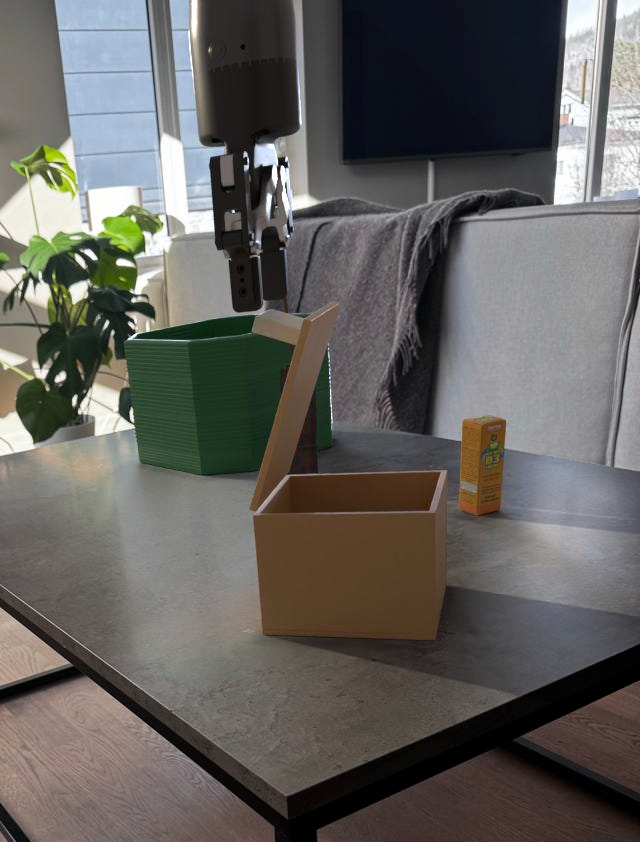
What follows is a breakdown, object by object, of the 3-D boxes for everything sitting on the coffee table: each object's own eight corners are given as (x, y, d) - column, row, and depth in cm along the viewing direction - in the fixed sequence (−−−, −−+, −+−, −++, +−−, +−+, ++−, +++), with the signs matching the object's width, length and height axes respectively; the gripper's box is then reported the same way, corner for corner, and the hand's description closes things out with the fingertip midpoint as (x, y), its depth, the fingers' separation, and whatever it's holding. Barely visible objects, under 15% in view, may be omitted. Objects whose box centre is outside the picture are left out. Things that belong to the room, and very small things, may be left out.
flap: (340, 302, 75) (285, 286, 76) (311, 320, 65) (248, 302, 66) (289, 471, 83) (239, 455, 84) (255, 512, 73) (199, 493, 74)
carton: (446, 584, 82) (447, 469, 78) (435, 640, 72) (435, 512, 68) (293, 582, 87) (286, 474, 83) (262, 634, 77) (252, 515, 73)
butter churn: (359, 476, 118) (351, 242, 107) (305, 494, 114) (291, 252, 102) (309, 467, 125) (297, 247, 114) (256, 484, 121) (239, 256, 109)
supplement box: (478, 517, 98) (480, 423, 94) (457, 510, 101) (459, 419, 97) (504, 510, 99) (507, 417, 95) (482, 503, 102) (484, 413, 98)
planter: (224, 480, 124) (211, 342, 117) (120, 458, 144) (103, 339, 137) (358, 439, 137) (353, 311, 130) (245, 424, 157) (236, 313, 150)
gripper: (272, 41, 58) (289, 311, 64) (316, 65, 70) (327, 291, 76) (161, 64, 60) (188, 321, 67) (222, 83, 72) (240, 300, 79)
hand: (262, 305), depth 71 cm, fingers open, 8 cm apart
